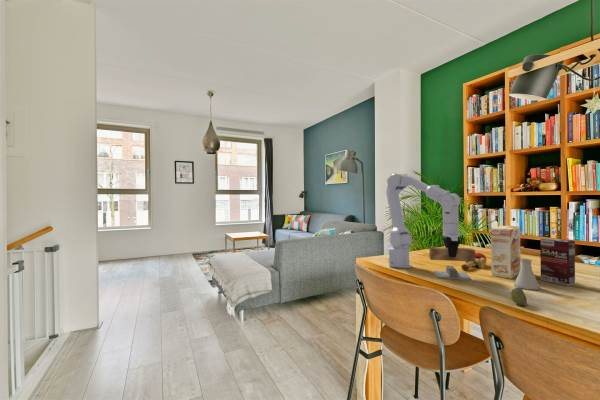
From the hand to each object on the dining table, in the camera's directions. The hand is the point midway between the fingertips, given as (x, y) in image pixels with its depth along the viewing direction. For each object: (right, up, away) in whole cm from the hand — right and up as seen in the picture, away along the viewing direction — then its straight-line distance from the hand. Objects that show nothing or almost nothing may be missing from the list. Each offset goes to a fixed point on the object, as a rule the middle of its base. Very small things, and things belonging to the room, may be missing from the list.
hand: (451, 255), depth 113 cm
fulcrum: (0, -8, 0) cm, 8 cm away
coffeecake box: (+24, -8, +2) cm, 25 cm away
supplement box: (+33, -8, -11) cm, 36 cm away
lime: (+4, -9, -31) cm, 32 cm away
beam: (0, -2, 0) cm, 2 cm away
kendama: (+17, -8, +13) cm, 23 cm away
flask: (+18, -8, -15) cm, 25 cm away
